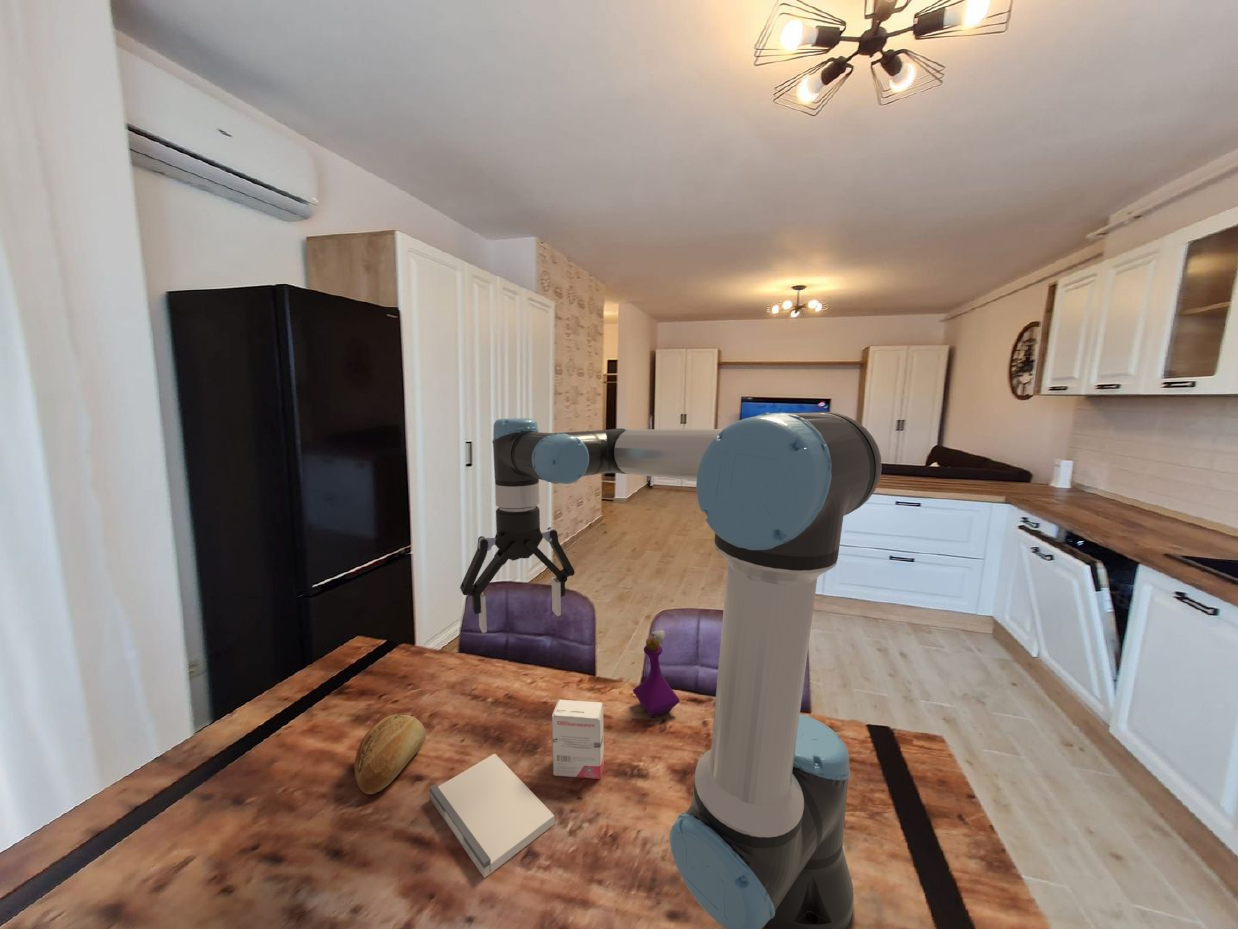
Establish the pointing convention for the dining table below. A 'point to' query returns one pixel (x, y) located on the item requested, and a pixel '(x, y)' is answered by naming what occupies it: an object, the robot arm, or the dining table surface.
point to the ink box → (578, 739)
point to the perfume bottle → (655, 681)
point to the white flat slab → (491, 812)
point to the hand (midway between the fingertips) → (521, 621)
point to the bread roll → (387, 751)
